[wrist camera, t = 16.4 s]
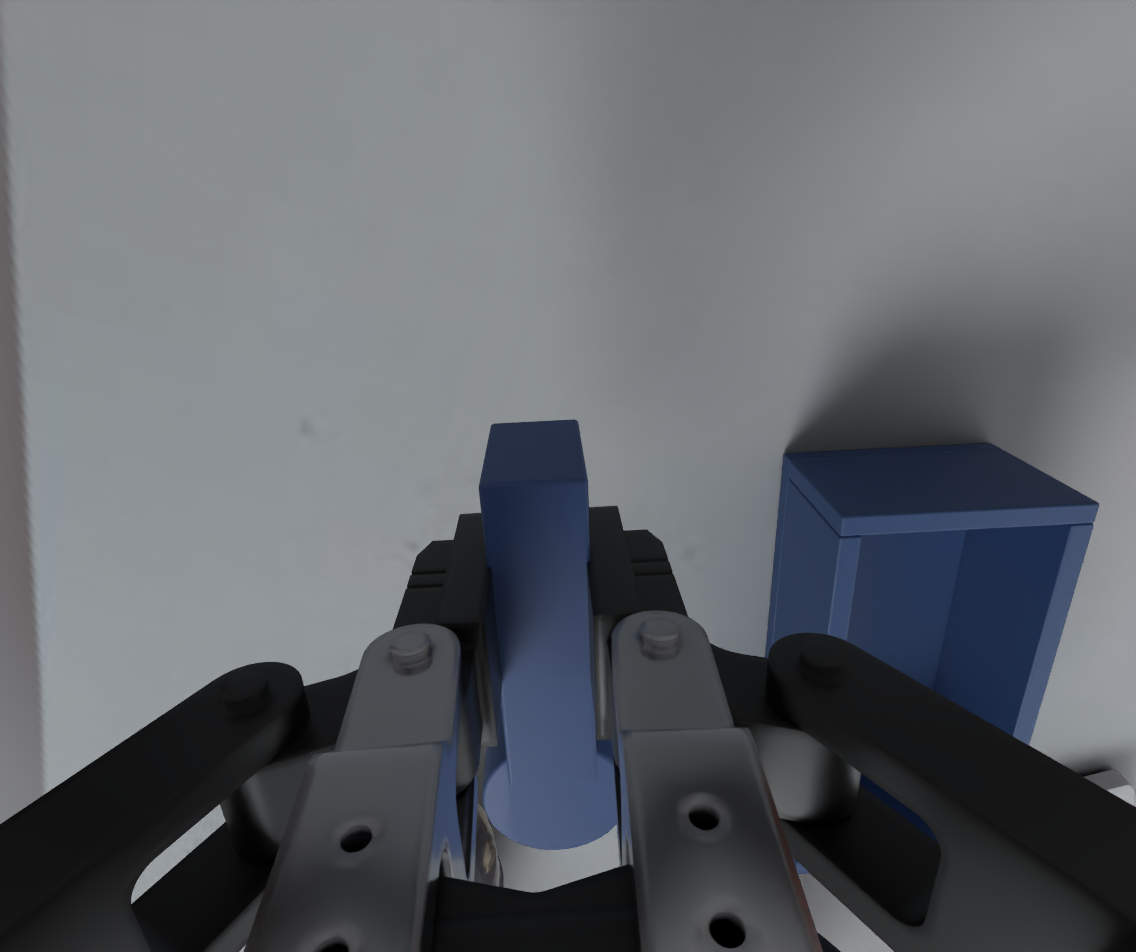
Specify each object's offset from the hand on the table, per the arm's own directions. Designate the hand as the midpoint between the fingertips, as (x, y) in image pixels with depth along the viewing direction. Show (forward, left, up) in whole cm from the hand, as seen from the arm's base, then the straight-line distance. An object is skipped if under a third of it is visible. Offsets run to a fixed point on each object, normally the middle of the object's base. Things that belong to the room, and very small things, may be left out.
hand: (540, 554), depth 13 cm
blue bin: (+8, +11, -9) cm, 16 cm away
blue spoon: (+2, 0, -1) cm, 2 cm away
